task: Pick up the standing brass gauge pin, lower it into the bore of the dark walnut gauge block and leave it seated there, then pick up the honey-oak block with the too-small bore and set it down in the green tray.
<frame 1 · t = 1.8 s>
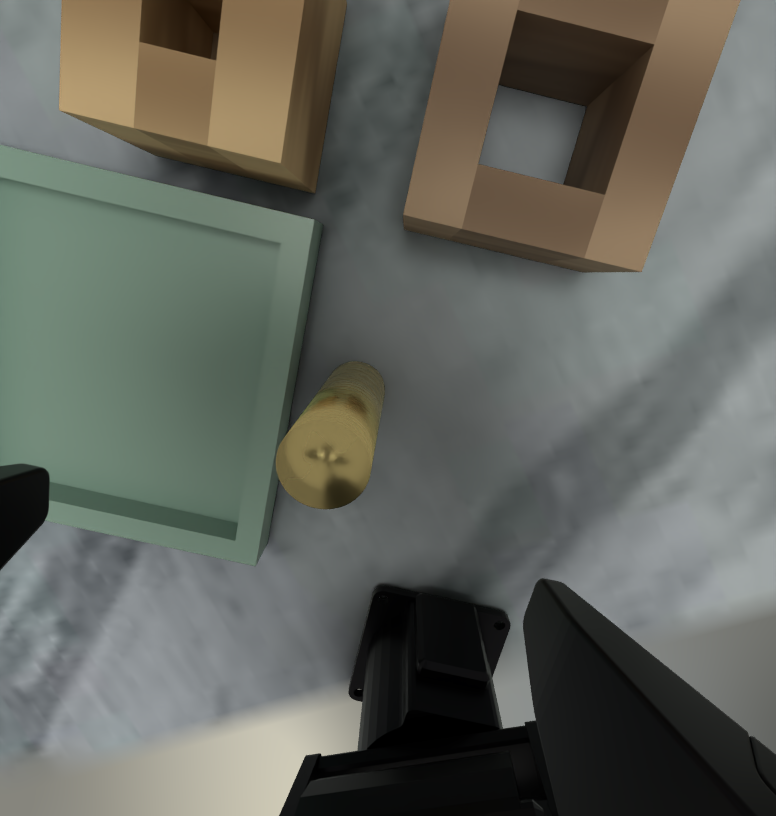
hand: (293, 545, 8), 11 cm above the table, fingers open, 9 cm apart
green tray: (139, 364, 19), on the table
oak block: (246, 83, 17), on the table
brass pin: (355, 390, 19), on the table
walnut gauge block: (521, 150, 17), on the table
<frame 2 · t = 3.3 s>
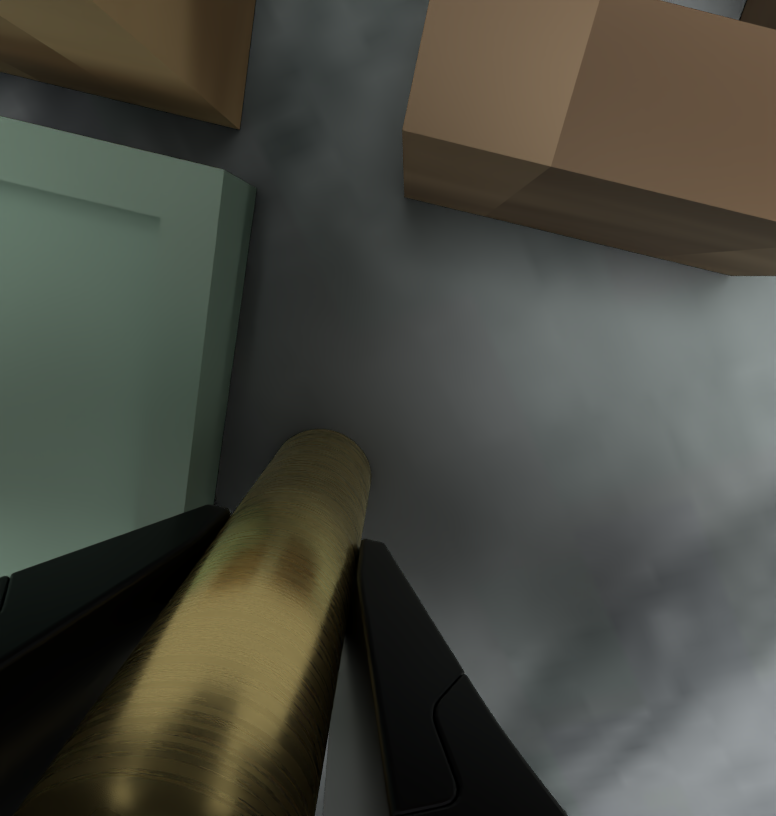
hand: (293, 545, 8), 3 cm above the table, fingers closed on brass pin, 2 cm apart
brass pin: (321, 476, 11), on the table, touching gripper
walnut gauge block: (630, 42, 9), on the table
when the fingers open (5 cm above the table, at t = 6.8 s): brass pin drops 3 cm, resting in walnut gauge block.
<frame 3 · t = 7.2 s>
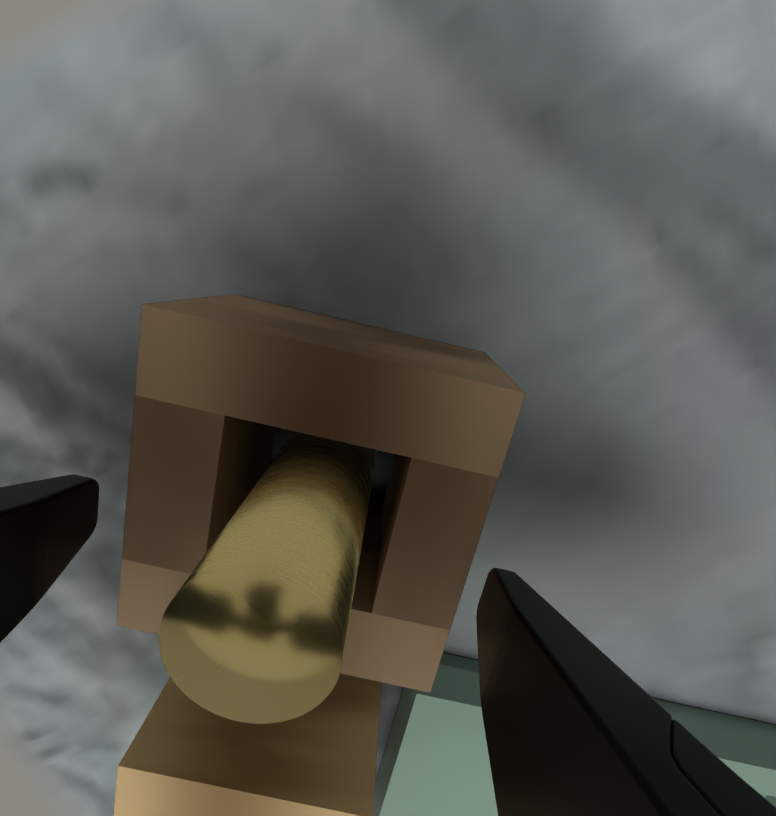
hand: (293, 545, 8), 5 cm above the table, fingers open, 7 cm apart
oak block: (281, 702, 16), on the table
brass pin: (337, 441, 14), resting in walnut gauge block
walnut gauge block: (335, 441, 14), on the table
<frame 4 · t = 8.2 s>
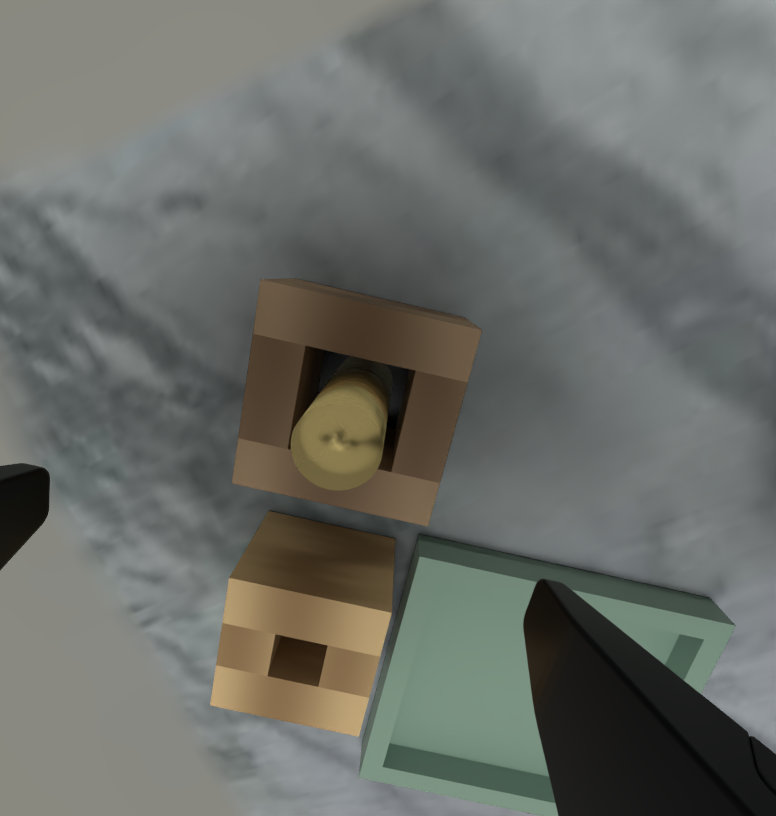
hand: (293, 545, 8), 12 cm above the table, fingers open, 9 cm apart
green tray: (524, 675, 24), on the table
oak block: (320, 579, 23), on the table
brass pin: (364, 381, 20), resting in walnut gauge block
walnut gauge block: (362, 380, 20), on the table
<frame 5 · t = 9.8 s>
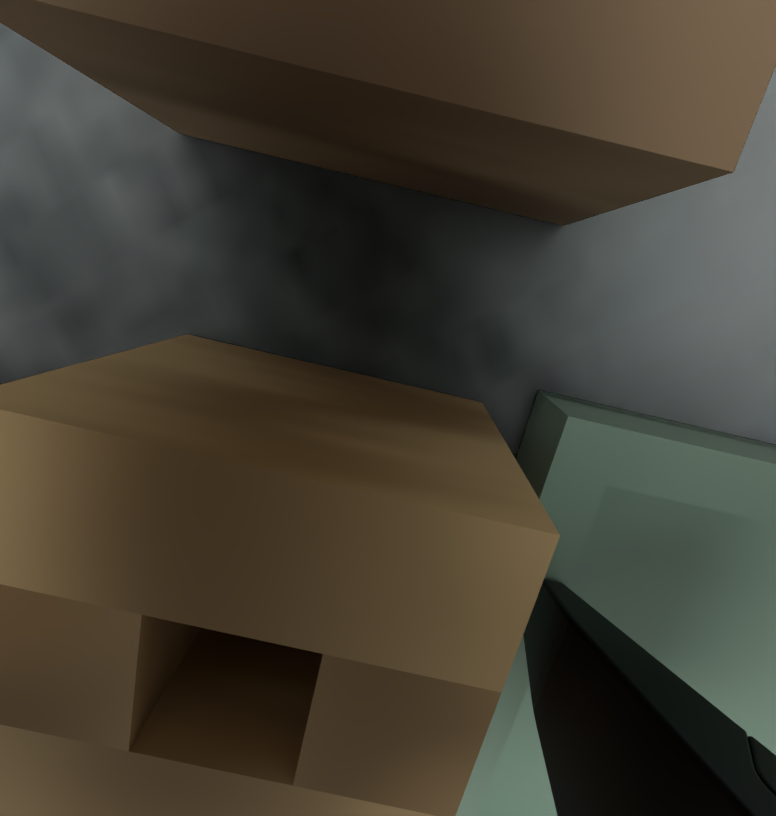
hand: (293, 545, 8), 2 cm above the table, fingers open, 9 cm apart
green tray: (737, 713, 11), on the table
oak block: (309, 501, 10), on the table
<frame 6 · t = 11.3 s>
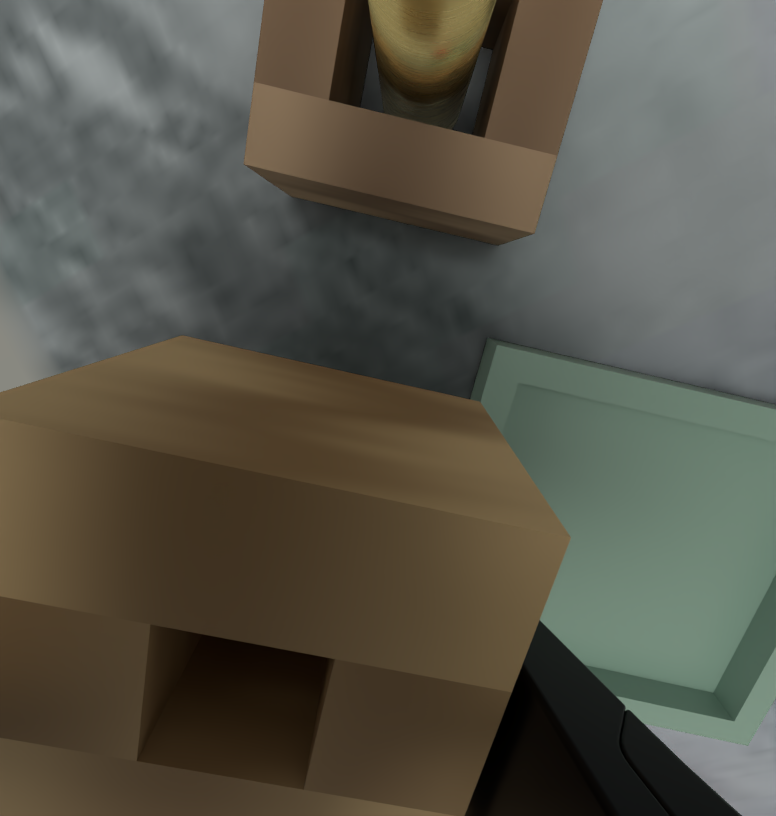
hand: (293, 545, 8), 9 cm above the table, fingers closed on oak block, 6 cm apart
green tray: (615, 541, 18), on the table
oak block: (307, 502, 10), point 7 cm above the table, touching gripper
brass pin: (422, 103, 15), resting in walnut gauge block
walnut gauge block: (420, 102, 14), on the table
when the fingers open (3 cm above the table, at t = 14.3 s): oak block stays where it is, resting on green tray.
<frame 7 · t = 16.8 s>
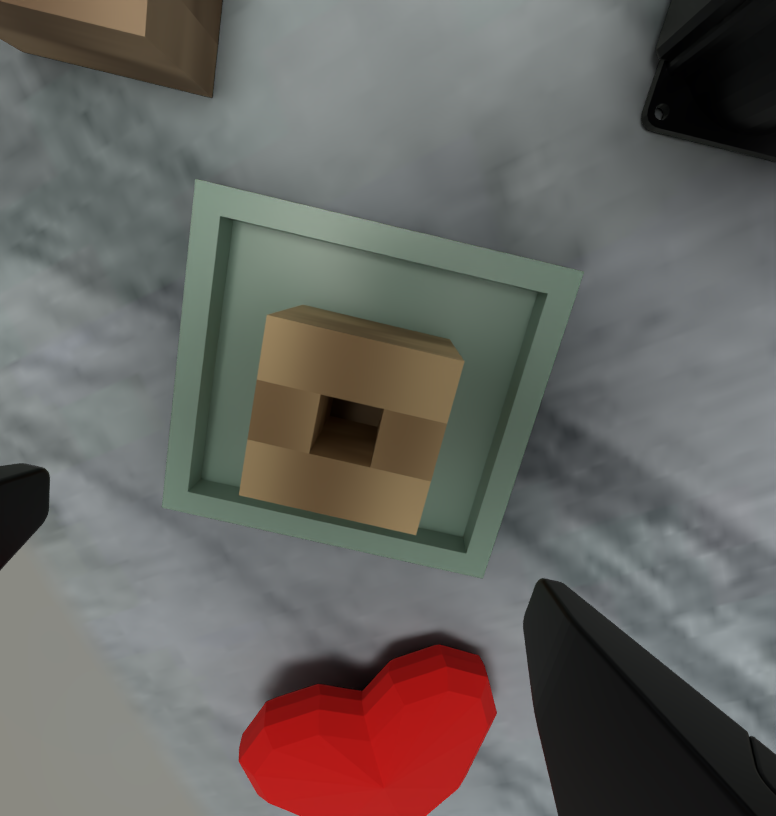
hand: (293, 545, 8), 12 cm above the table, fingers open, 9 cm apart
green tray: (358, 389, 20), on the table
heart: (384, 712, 25), on the table
oak block: (360, 393, 20), resting on green tray
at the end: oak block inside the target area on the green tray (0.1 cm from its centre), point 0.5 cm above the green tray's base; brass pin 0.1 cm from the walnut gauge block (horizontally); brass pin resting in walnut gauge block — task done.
